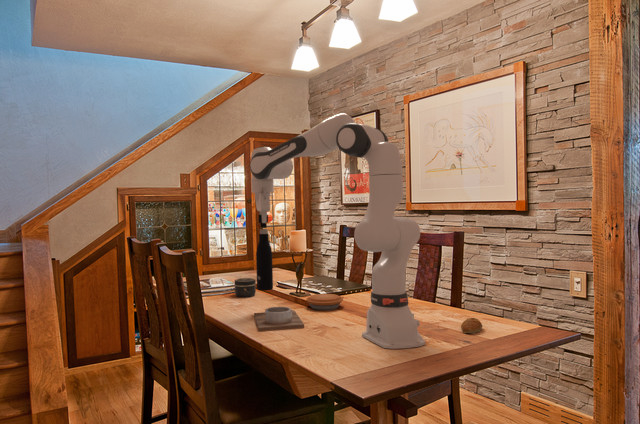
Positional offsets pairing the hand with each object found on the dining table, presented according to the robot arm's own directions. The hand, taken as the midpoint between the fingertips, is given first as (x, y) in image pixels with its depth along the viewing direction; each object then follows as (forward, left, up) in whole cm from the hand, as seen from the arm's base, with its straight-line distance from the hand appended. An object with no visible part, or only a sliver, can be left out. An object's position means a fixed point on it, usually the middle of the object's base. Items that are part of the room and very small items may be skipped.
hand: (263, 222), depth 194 cm
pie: (+2, -25, -37) cm, 44 cm away
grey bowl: (-19, -3, -35) cm, 40 cm away
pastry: (-46, -65, -37) cm, 88 cm away
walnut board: (-16, -3, -36) cm, 40 cm away
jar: (+36, +6, -37) cm, 52 cm away
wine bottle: (0, 0, -27) cm, 27 cm away
